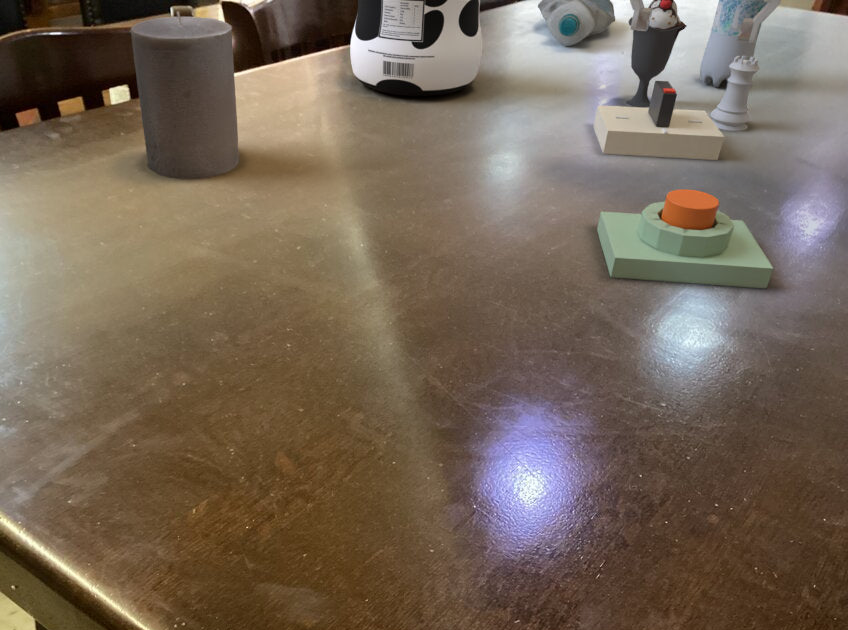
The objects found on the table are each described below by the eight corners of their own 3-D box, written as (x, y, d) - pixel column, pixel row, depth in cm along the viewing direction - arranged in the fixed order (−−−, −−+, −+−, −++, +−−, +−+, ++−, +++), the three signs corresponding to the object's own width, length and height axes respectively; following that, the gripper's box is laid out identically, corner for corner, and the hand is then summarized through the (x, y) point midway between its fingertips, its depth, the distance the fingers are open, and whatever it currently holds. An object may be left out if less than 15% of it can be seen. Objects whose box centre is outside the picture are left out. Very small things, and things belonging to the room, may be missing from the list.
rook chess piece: (698, 125, 98) (717, 55, 93) (726, 120, 99) (746, 52, 95) (726, 136, 95) (747, 65, 90) (755, 132, 96) (777, 61, 91)
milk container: (445, 65, 119) (457, -75, 108) (501, 99, 106) (520, -57, 95) (332, 75, 114) (333, -71, 104) (376, 111, 101) (382, -52, 91)
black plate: (647, 112, 92) (655, 78, 90) (660, 113, 92) (668, 78, 90) (655, 126, 88) (664, 91, 86) (669, 127, 88) (677, 91, 86)
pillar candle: (129, 175, 83) (106, 17, 74) (176, 144, 91) (161, -2, 82) (215, 188, 80) (201, 26, 72) (256, 156, 88) (248, 6, 79)
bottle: (702, 74, 116) (744, -87, 105) (751, 82, 113) (800, -83, 102) (688, 84, 112) (730, -82, 100) (739, 93, 109) (789, -78, 97)
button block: (735, 243, 72) (749, 200, 69) (764, 293, 64) (781, 247, 62) (596, 234, 73) (605, 191, 71) (609, 282, 66) (619, 236, 63)
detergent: (540, 15, 147) (516, 43, 127) (550, -29, 143) (527, -7, 123) (614, 28, 144) (601, 59, 124) (626, -16, 140) (615, 8, 120)
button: (706, 213, 68) (712, 190, 67) (717, 234, 65) (725, 210, 63) (656, 210, 68) (662, 187, 67) (665, 231, 65) (672, 206, 64)
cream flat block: (697, 136, 95) (705, 108, 93) (716, 164, 87) (725, 135, 85) (592, 130, 96) (597, 103, 94) (602, 158, 89) (608, 129, 87)
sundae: (648, 118, 100) (680, -16, 91) (601, 105, 104) (627, -24, 95) (676, 108, 103) (709, -22, 95) (630, 96, 107) (657, -30, 99)
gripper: (875, -138, 66) (814, 41, 74) (619, -148, 73) (589, 17, 82) (879, -134, 62) (814, 57, 70) (606, -145, 69) (575, 29, 77)
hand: (691, 35), depth 76 cm, fingers open, 8 cm apart
